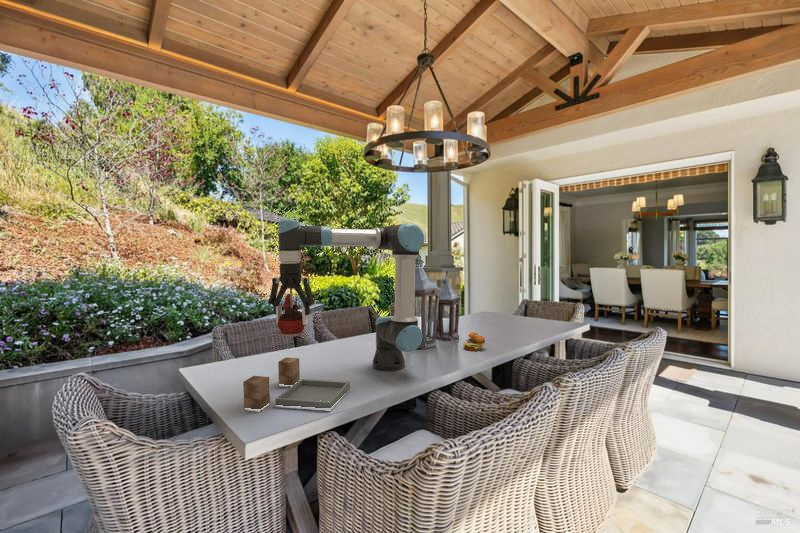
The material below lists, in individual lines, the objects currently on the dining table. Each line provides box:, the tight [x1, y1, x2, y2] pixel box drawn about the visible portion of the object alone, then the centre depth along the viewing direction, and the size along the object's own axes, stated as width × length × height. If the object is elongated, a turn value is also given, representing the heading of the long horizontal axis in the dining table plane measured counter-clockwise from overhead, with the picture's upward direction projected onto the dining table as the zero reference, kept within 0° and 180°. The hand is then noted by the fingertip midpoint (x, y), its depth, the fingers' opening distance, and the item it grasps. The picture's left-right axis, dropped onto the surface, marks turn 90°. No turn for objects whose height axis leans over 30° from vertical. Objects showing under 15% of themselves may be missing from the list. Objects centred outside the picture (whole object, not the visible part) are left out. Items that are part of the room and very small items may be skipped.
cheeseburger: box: [462, 331, 486, 352], centre depth 205 cm, size 10×11×10 cm
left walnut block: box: [242, 375, 271, 409], centre depth 131 cm, size 6×6×10 cm
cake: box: [277, 288, 307, 338], centre depth 139 cm, size 11×9×18 cm
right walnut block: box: [277, 357, 301, 385], centre depth 153 cm, size 6×6×10 cm
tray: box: [274, 378, 351, 408], centre depth 139 cm, size 20×20×3 cm
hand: (292, 323), depth 140 cm, fingers closed on cake, 10 cm apart
